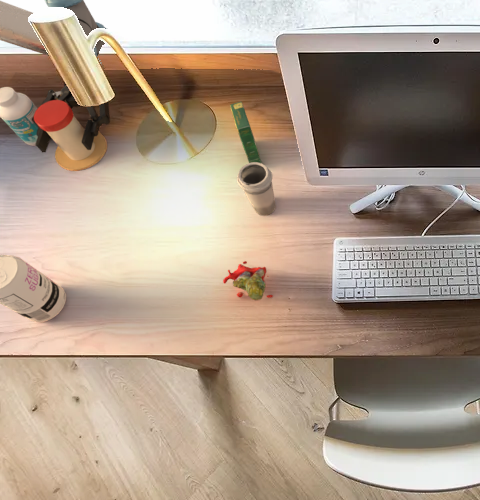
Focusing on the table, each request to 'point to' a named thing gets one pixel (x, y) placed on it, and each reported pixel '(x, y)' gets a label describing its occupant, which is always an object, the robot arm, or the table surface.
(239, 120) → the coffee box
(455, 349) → the table surface
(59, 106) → the lid
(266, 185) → the cup
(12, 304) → the supplement can
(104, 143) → the coaster
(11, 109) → the pill bottle
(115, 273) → the table surface
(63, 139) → the jar
